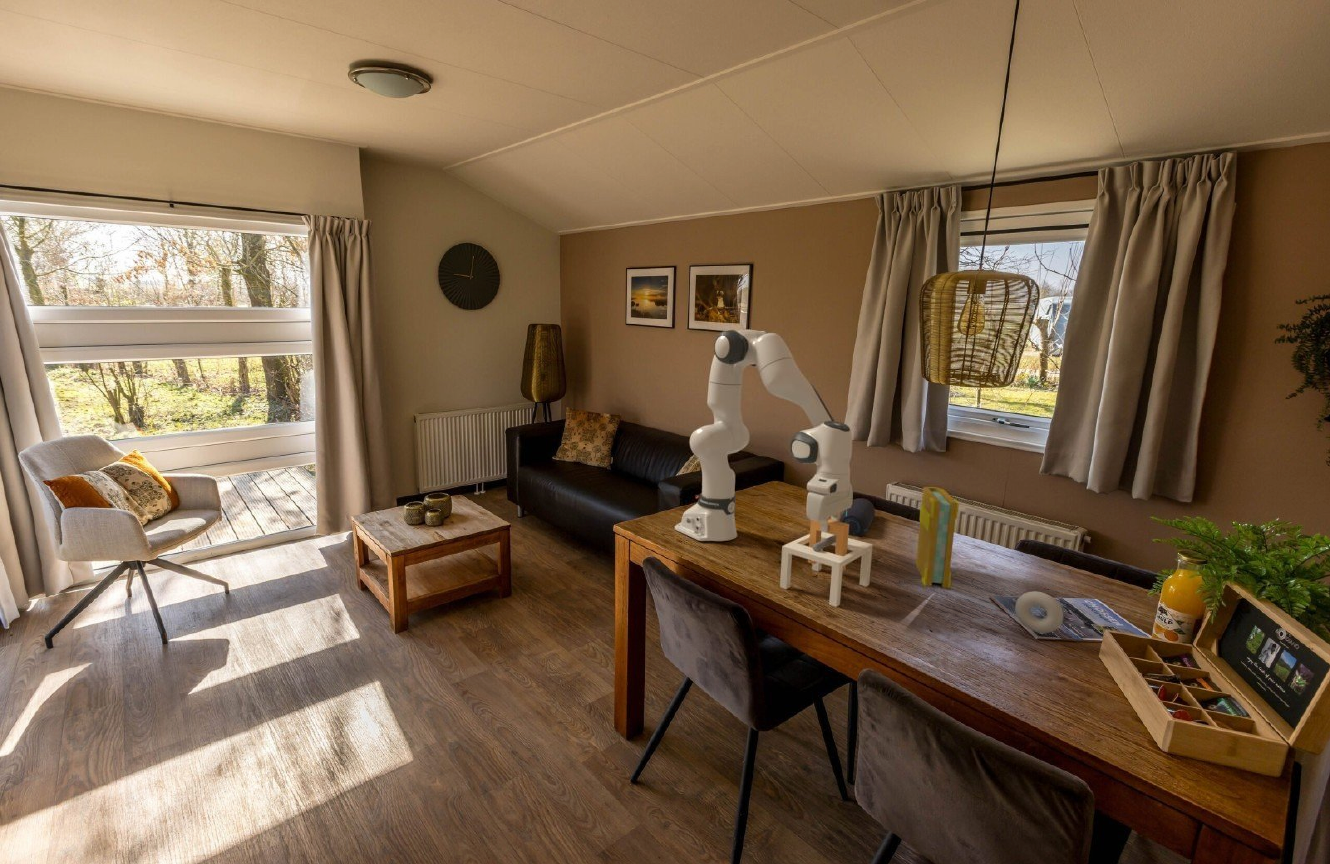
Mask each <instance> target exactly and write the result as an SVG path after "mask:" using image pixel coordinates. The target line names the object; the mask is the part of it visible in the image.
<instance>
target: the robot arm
mask: <svg viewBox="0 0 1330 864" xmlns="http://www.w3.org/2000/svg"><path fill="white" fill-rule="evenodd" d="M713 352H714V355H713V358H712V362H711V367H710V371H709V378H708V388H707V389H708V390H707V398H706V401H707V402H706V404H707V407H708V408H709V409H710V410H711V412H712V413H713V414H712V415H713V421H714V422H713V424H712V423H711V424H706V425H703V426H701V427H698V428H697V429H696V430H694V431H693V432H692V433H691V435H690V438H689V447H690V450H691V452H692V453H693V454H694V456H696V457H697V459H698V461H699V464H700V467H701V475H702V476H701V477H702V481H701V486H702V487H701V493H699V494H696V495H695V499H696V500H697V502H696V504H694V505H692V506H691V507H690V508H689V507H688V509H686V510H685V511H684V512H683V514H682V516H681V521H680V522H679V523H676V524H675V526H674V530H675V531H677V532H679V533H682V534H683V535H686V536H689V537H690V538H693V539H695V540H696V541H700V542H705V541H706V542H711V541H712V542H713V541H714V542H724V541H727V542H728V541H731V540H734V539H736V538H737V537H738V533H737V532H738V531H737V528H736V520H735V510H736V495H735V487H736V486H735V485H736V474H735V472H734V470H733V469H732V468H731V467H730V464H729V461H728V455H731V454H734V453H738V452H739V451H741V450H743V449H745V447H746V446H748V444H749V443H750V439H751V438H750V431H749V428H748V427H747V426H746V425H745V424H744V423H745V422H743V416H742V408H741V405H742V389H743V378H744V371H745V369H746V367H748V366H752V367H756V369H757V371H758V374H759V376H760V379H761V381H762V384H763V385H764V388H765V389H766V390H767V391H768V392H769V394H771V395H773V396H774V397H777V398H779V399H780V398H781V399H783V400H787V401H789V402H792V403H794V404H796V405H798V407H800V408H801V409H802V410H803V412H804V413H805V414H806V416H807V418H808V420H809V422H810V424H811V425H812V427H813V428H809V429H804V430H803V429H802V430H800V431H797V432H795V433H794V434H793V435H792V437H791V439H790V443H789V450H790V453H791V457H792V458H793V460H795V461H796V462H797V463H798V464H804V465H811V464H815V465H816V473H815V474H814V476H813V477H812V478H811V479H810V480H809V481H808V482H807V484H806V490H807V491H808V493H807V497H806V516H807V519H808V520H810V521H811V520H814V521H820V523H821V531H823V532H828V531H829V528H830V525H828V520H829V519H830V520H834V521H838V522H839V520H840V517H841V513H842V512H844V511H845V510H847V509H849V508H851V506H852V501H853V500H854V499H853V498H854V495H853V485H852V483H851V479H850V478H851V468H850V467H851V466H850V462H851V458H852V456H853V435H852V429H851V428H850V427H849V425H848V424H845V423H843V422H841V421H835V419H834V417H833V415H831V412H830V411H829V409H828V407H827V406H826V404H825V402H824V401H823V399H822V398H821V396H820V394H819V392H818V391H817V390H816V388H815V387H814V385H813V384H812V383H811V382H810V381H809V380H808V379H807V378H806V377H805V376H804V374H803V373H802V370H800V368H799V366H798V365H797V362H796V360H795V358H794V356H793V354H792V353H791V351H790V349H789V347H788V345H787V344H786V342H785V340H783V337H781V336H780V334H777V333H774V332H768V331H765V330H754V329H739V330H738V329H737V330H734V329H728V330H724V331H721V332H720V333H719V334H718V335H717V336H716V337H715V340H714V344H713Z"/></svg>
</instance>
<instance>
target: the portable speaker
mask: <svg viewBox="0 0 1330 864" xmlns="http://www.w3.org/2000/svg"><path fill="white" fill-rule="evenodd" d="M875 515H876V510H875V506H874V504H873V503H872V502H871V501H870V500H868V499H866V498H855V499H853V500H852V506H851V508H849V509H847V510H844V511H843V513H842V514H840V517H839V519H838V522H842V523H846V524H849V533H848V535H850V536H856V537H863V536H864V535H866V533H867V532H868V530H869V528H870V526H871V524H872V522H873V520H874V519H875Z"/></svg>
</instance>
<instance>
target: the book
mask: <svg viewBox="0 0 1330 864" xmlns="http://www.w3.org/2000/svg"><path fill="white" fill-rule="evenodd" d="M959 507H960V502H959V501H958V500H957V499H956V498H953V497H952V496H951V495H950V494H949V493H948V492H947V491H946V490H945V489H943V488H941V487H936V486H934V487H933V486H925V487H923V489H922V497H921V504H920V509H919V527H918V528H919V529H918V538H917V549H916V558H915V565H916V568H917V570H918V572H919V574H920V576H921V582H922V584H923V586H924V587H925V586H927V587H932V586H933V585H932V584H933V583H935V584H940V586H941V588H943V589H944V588H945V589H950V588H951V582H952V581H951V580H952V571H951V564H952V563H951V561H952V554H953V545H954V544H953V543H954V537H955V526H956V520H958V515H959Z"/></svg>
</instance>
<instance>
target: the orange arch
mask: <svg viewBox="0 0 1330 864" xmlns="http://www.w3.org/2000/svg"><path fill="white" fill-rule="evenodd" d="M828 525H830V528H829V531H828V532H825V533H829V534H833V535H836V546H835V549H834V550H835V551H834V554H836V555H839V556H845V555H847V554H848V549H847V546H848V538H849V534H848V533H849V524H846V523H842V522H839V520H838V521H834V520H831V518H829V520H828ZM809 527H810V528H809V534H810V538H809V542H808V547H813V545H814V544H816V543H818V542H820V541H821V532H823V531H821V523H820V521H814V520H810V526H809ZM807 563H809V564H815V563H817V562H816V561H812V560H809V559H807ZM846 569H847V564H846V565H845V566H843V570H842V572H844V571H845V570H846Z"/></svg>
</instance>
